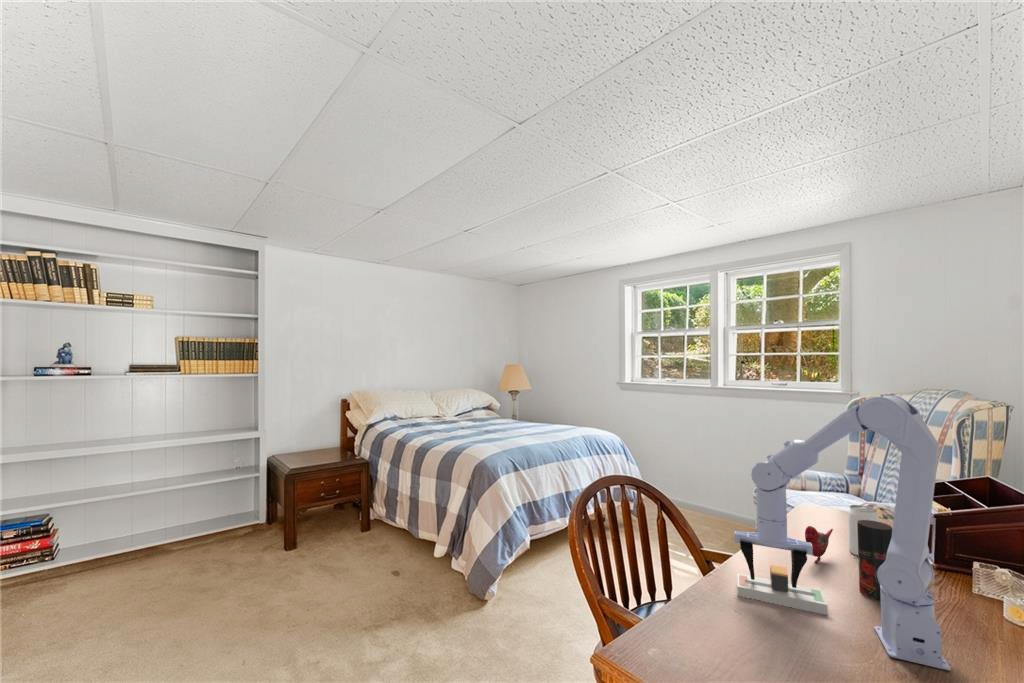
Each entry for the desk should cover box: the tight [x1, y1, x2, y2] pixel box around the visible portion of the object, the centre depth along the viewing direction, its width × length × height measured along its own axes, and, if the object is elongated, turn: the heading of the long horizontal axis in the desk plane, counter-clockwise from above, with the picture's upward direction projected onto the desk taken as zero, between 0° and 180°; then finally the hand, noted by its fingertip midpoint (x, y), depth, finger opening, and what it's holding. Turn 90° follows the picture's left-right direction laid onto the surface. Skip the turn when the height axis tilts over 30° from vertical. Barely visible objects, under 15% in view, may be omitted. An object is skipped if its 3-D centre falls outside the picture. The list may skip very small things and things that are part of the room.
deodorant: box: [857, 520, 893, 603], centre depth 98 cm, size 6×6×15 cm
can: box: [847, 504, 880, 557], centre depth 119 cm, size 6×6×12 cm
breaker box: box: [736, 573, 829, 616], centre depth 96 cm, size 7×16×2 cm, turn 63°
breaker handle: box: [769, 564, 789, 592], centre depth 96 cm, size 4×3×3 cm
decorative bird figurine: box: [804, 525, 834, 565], centre depth 114 cm, size 3×18×10 cm, turn 127°
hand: (772, 581), depth 97 cm, fingers open, 7 cm apart
